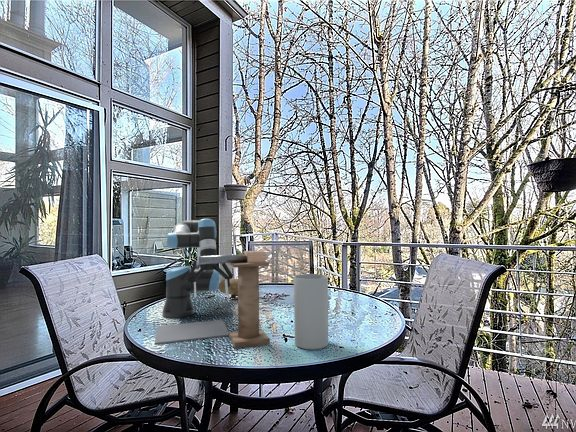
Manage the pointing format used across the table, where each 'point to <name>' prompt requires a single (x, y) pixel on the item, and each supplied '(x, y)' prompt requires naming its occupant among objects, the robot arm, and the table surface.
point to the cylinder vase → (311, 311)
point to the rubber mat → (190, 331)
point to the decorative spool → (232, 289)
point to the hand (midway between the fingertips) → (211, 296)
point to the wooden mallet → (235, 258)
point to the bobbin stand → (248, 307)
